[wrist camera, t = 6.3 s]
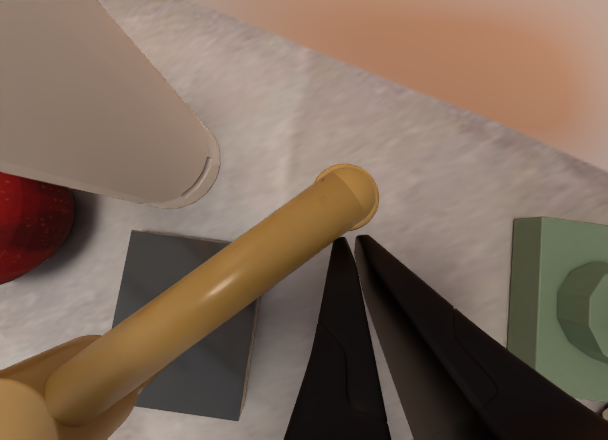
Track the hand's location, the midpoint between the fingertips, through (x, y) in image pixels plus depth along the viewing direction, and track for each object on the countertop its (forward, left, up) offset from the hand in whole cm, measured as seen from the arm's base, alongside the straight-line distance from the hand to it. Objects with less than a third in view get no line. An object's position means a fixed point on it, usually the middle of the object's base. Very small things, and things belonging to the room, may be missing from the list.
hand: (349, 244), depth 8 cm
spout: (-3, +5, -2) cm, 6 cm away
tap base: (-7, +9, -10) cm, 15 cm away
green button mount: (-2, -20, -10) cm, 22 cm away
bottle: (+5, +13, -10) cm, 18 cm away
